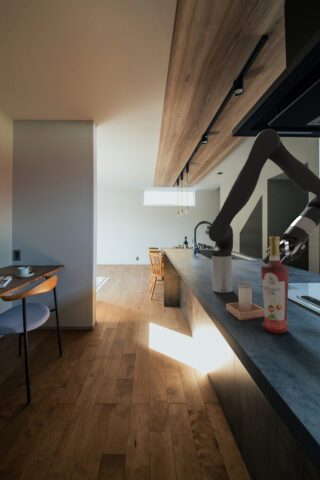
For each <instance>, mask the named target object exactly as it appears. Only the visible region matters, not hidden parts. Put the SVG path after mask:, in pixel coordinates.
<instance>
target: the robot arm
mask: <svg viewBox="0 0 320 480" xmlns="http://www.w3.org/2000/svg"><path fill="white" fill-rule="evenodd" d="M254 138H255V139H254V141H253V144H252V146H251V148H250V150H249V153H248V156H247V158H246V161H245V162H244V164H243V166H242V168H241V170H240V171H239V173H238V175H237V177H236V179H235V180H234V182H233V184H232V186H231V188H230V190H229V192H228V195H227V196H226V197H225V201H224V203H223V204H222V207H221V209H220V211H219V212H218V214H217V215H216V217H215V218H214V220H213V221H212V223H211V225H210V226H209V228H208V231H207V233H208V237H209V239H210V240H211V241H212V242H215V245H214V246H213V249H212V250H211V264H212V265H211V266H212V267H211V269H212V271H211V272H212V273H211V275H212V278H211V279H212V291H213V292H216V293H219V294H220V293H222V294H227V293H231V292H233V267H232V266H233V264H232V263H233V262H232V261H233V260H232V258H233V257H232V253H233V248H234V231H233V227H232V226H231V224H232V222H233V220H234V218H235V217H236V216H237V215H238V213H239V212H240V211H241V210H243V208H245V206H246V205H247V204H248V202H249V201H250V199H251V198H252V196H253V194H254V191H255V189H256V187H257V185H258V182H259V179H260V176H261V172H262V170H263V168H264V166H265V165H266V163H267V162H268V160H270V161H271V162H273V163H274V164H275V165H276V166H277V167H278V168H279V169H280V170H281V171H282V172H283V173H284V174H285V175H286V177H287V178H288V179H289V180H290V182H291V183H292V184H294V185H295V186H296V187H297V188H298V190H300V191H301V192H302V193H306V194H307V193H311V194H314V196H312V198H311V199H310V200H309V202H308V203H307V205H306V207H305V208H304V210H302V212H301V213H300V214H299V216H298V217H297V218H296V219H295V220H294V221H292V223H291V224H290V225H289V226H288V228H287V229H286V230H285V231H284V232H283V234H282V240H280V243H279V254H280V255H282V254H284V255H285V256H283V257H282V259H280V263H281V264H283V265H285V266H288V264H289V263H290V262H291V261H294V260H295V261H297V260H299V258H300V257H301V256H302V255H303V253H304V252H305V250H307V246H306V244H305V243H306V242H307V241H308V239H309V238H310V237H311V236H312V234H313V233H314V232H315V230H316V229H317V227H318V226H319V225H320V178H319V177H318V176H317V174H315V173H314V172H313V171H312V169H310V168H309V167H308V166H307V165H305V163H303V162H301V161H300V160H299V159H297V158H296V157H295V156H294V155H293V154H292V153H291V152H290V151H289V150H288V149H287V148H286V147H285V145H284V144H283V142H282V140H281V137H280V134H279V133H278V132H277V130H275V129H273V128H265V129H263V130H262V131H260V132H259V133H258V134H257V135H256V137H254ZM265 252H266V255H265V257H263V260H262V262H263V263H264V265H265V264H267V263H269V257H270V245H269V246H268V248H267V249H266V250H265Z"/></svg>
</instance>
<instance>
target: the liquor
mask: <svg viewBox="0 0 320 480" xmlns="http://www.w3.org/2000/svg"><path fill="white" fill-rule="evenodd" d="M280 241H281V240H280V236H269V242H268V243H269V246H270V257H269V263H267V264H265V263H264V264H263V265H262V266H261V267H260V272H261V274H260V275H261V286H262V287H261V288H262V301H263V309H264V317H263V320H264V321H263V323H262V327H264V329H265V330H267V332H269V333H271V334H274V335H282V334H284V333H286V332H287V331H289V329H290V328H289V326H288V298H289V296H288V295H289V283H290V282H289V280H290V279H289V275H290V268H289V267H288V265H286V266H285V265H283V264H281V263H280V261H281V254H279V243H280Z"/></svg>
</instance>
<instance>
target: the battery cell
mask: <svg viewBox="0 0 320 480" xmlns="http://www.w3.org/2000/svg"><path fill="white" fill-rule="evenodd" d="M252 285H253V284H252V283H251V282H249V281H248V282H247V281H246V280H245V281H243V280H242V281H240V282H238V285H237V286H238V302H239V311H240V312H247V311H252V303H253V302H252V301H253V295H252V294H253V292H252V291H253V290H252V288H253V287H252Z"/></svg>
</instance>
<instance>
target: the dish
mask: <svg viewBox="0 0 320 480" xmlns="http://www.w3.org/2000/svg"><path fill="white" fill-rule="evenodd" d="M225 306H226V309H225V310H226V311H227V313H229V314H231V315H232V316H233V317H235V318H236V319H237V320H239V321H246V320H252V319H262V318H263V319H264V307H263V308H262V307H261V306H259V305H257V304H256V303H254V302H252V311H247V312H240V311H239V301H238V302H229V303H225Z"/></svg>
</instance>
